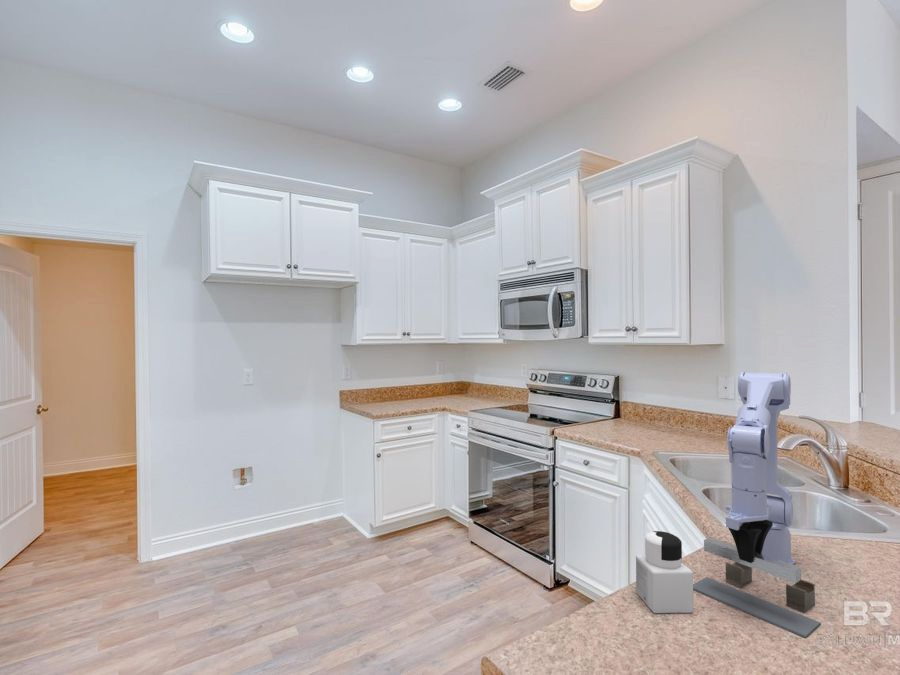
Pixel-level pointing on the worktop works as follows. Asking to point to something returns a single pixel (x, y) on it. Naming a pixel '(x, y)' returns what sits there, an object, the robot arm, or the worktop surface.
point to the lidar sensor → (664, 575)
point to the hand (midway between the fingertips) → (749, 558)
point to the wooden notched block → (738, 574)
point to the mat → (757, 607)
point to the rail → (759, 562)
